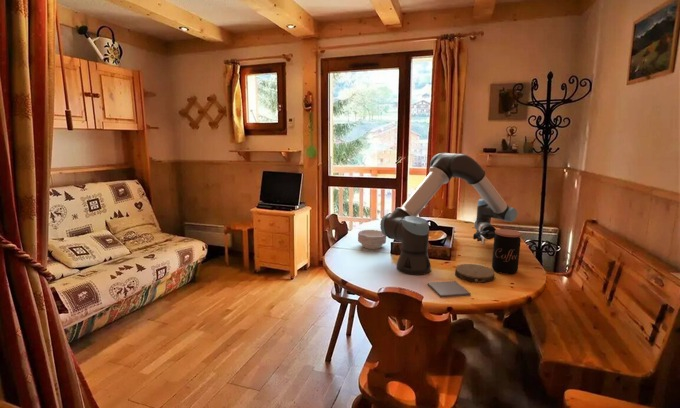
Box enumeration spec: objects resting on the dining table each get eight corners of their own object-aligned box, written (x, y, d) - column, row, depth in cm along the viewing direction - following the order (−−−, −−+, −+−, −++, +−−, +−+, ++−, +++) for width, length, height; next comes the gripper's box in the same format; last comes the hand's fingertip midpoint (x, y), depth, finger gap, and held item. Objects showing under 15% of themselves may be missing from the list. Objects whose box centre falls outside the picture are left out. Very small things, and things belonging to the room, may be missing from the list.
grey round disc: (452, 269, 164) (452, 262, 164) (489, 271, 162) (489, 265, 161) (458, 282, 149) (458, 275, 148) (498, 285, 146) (499, 278, 146)
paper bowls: (391, 249, 192) (391, 235, 190) (365, 252, 186) (365, 237, 185) (377, 241, 206) (378, 228, 204) (353, 244, 200) (353, 230, 199)
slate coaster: (440, 297, 134) (440, 295, 133) (427, 285, 145) (427, 282, 145) (470, 295, 136) (470, 293, 135) (455, 283, 147) (455, 280, 147)
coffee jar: (490, 272, 160) (493, 233, 156) (492, 265, 169) (495, 227, 166) (516, 276, 155) (521, 236, 151) (517, 268, 164) (521, 230, 161)
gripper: (511, 238, 191) (525, 250, 170) (462, 236, 194) (471, 248, 174) (512, 225, 190) (527, 235, 169) (463, 223, 193) (472, 233, 172)
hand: (499, 242), depth 171 cm, fingers open, 13 cm apart
